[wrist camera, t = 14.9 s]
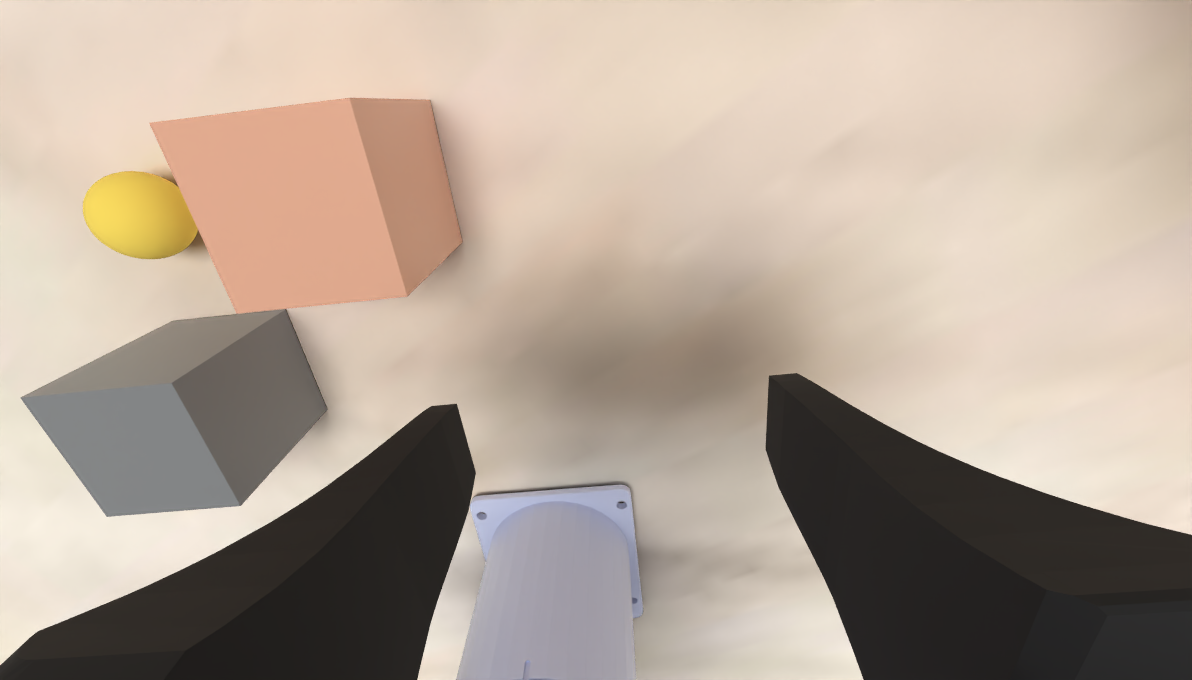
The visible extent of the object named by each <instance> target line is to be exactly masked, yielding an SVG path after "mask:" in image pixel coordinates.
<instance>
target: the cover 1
mask: <svg viewBox="0 0 1192 680" xmlns="http://www.w3.org/2000/svg"><path fill="white" fill-rule="evenodd" d="M150 126H151V128H152V130H153V132H154V134H155V137H156V139H157V141H158V143H159V145H160V147H161V150H162V152H163V154H164V156H165V158H166V161H167V163H168V165H169V167H170V169H171V171H172V174H173V176H174V178H175V180H176V182H177V185H178V187H179V189H180V191H181V193H182V195H183V198H184V200H185V202H186V204H187V206H188V208H189V211H190V213H191V215H192V217H193V219H194V222H195V224H196V226H197V228H198V230H199V232H200V235H201V237H202V239H203V241H204V243H205V246H206V248H207V250H208V252H209V254H210V256H211V259H212V261H213V263H214V265H215V267H216V269H217V272H218V274H219V276H220V278H221V280H222V283H223V285H224V287H225V289H226V291H227V293H228V296H229V298H230V300H231V302H232V304H233V307H234V309H235V311H236V313H237V314H238V313H248V312H258V311H268V310H278V309H287V308H297V307H307V306H317V305H327V304H337V303H347V302H357V301H367V300H377V299H387V298H397V297H407V296H408V295H409V294H410V293H411V292H412V291H413V290H414V289H415V288H416V287H417V286H418V285H419V284H420V283H421V282H422V281H423V280H425V279H426V278H427V277H428V276H429V275H430V274H431V273H432V272H433V271H434V270H435V269H436V268H437V267H438V266H439V265H440V264H441V263H442V262H443V261H444V260H445V259H446V258H447V257H448V256H449V255H450V254H451V253H452V252H453V251H454V250H455V249H456V248H457V247H458V246H459V245H460V244H461V243H462V238H461V233H460V229H459V225H458V220H457V216H456V212H455V207H454V203H453V199H452V194H451V190H450V185H449V181H448V177H447V172H446V168H445V164H444V159H443V155H442V151H441V146H440V142H439V137H438V133H437V129H436V124H435V120H434V116H433V111H432V107H431V102H430V100H413V99H372V98H345V99H337V100H329V101H321V102H313V103H305V104H297V105H289V106H281V107H273V108H265V109H257V110H249V111H241V112H233V113H225V114H217V115H209V116H201V117H193V118H185V119H177V120H169V121H161V122H153V123H150Z"/></svg>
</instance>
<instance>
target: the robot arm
mask: <svg viewBox="0 0 1192 680" xmlns="http://www.w3.org/2000/svg"><path fill="white" fill-rule="evenodd" d="M766 452H767V455H768V458H769V461H770V464H771V467H772V470H773V473H774V475H775V478H776V481H777V484H778V487H779V489H780V491H781V493H782V495H783V497H784V499H785V501H786V503H787V505H788V507H789V509H790V511H791V513H792V515H793V517H794V519H795V521H796V523H797V525H798V527H799V529H800V531H801V533H802V535H803V537H804V539H805V541H806V543H807V545H808V547H809V549H810V551H811V553H812V555H813V557H814V559H815V561H816V563H817V565H818V567H819V569H820V571H821V573H822V575H823V577H824V579H825V581H826V584H827V586H828V588H829V590H830V592H831V595H832V597H833V599H834V602H835V604H836V607H837V610H838V612H839V615H840V617H841V620H842V623H843V625H844V628H845V630H846V633H847V636H848V638H849V641H850V643H851V646H852V649H853V652H854V654H855V657H856V660H857V663H858V665H859V668H860V671H861V674H862V676H863V679H864V680H1192V535H1189V534H1185V533H1181V532H1177V531H1173V530H1169V529H1165V528H1161V527H1157V526H1153V525H1149V524H1145V523H1141V522H1138V521H1134V520H1131V519H1127V518H1124V517H1121V516H1117V515H1114V514H1110V513H1107V512H1104V511H1100V510H1097V509H1093V508H1090V507H1087V506H1083V505H1080V504H1077V503H1074V502H1071V501H1068V500H1064V499H1061V498H1058V497H1055V496H1052V495H1049V494H1046V493H1043V492H1040V491H1037V490H1035V489H1032V488H1029V487H1026V486H1024V485H1021V484H1018V483H1015V482H1012V481H1010V480H1007V479H1004V478H1001V477H999V476H996V475H994V474H991V473H988V472H986V471H983V470H981V469H978V468H976V467H974V466H971V465H969V464H967V463H964V462H962V461H960V460H957V459H955V458H953V457H950V456H948V455H946V454H944V453H941V452H939V451H937V450H935V449H932V448H930V447H928V446H926V445H924V444H922V443H920V442H918V441H916V440H914V439H912V438H910V437H908V436H906V435H904V434H902V433H900V432H898V431H896V430H895V429H893V428H891V427H889V426H887V425H885V424H883V423H881V422H880V421H878V420H876V419H874V418H872V417H871V416H869V415H867V414H865V413H864V412H862V411H860V410H859V409H857V408H855V407H853V406H852V405H850V404H848V403H847V402H845V401H843V400H842V399H840V398H838V397H837V396H835V395H833V394H832V393H830V392H828V391H827V390H825V389H823V388H822V387H820V386H818V385H817V384H815V383H813V382H812V381H810V380H808V379H807V378H805V377H803V376H801V375H799V374H797V373H794V374H783V375H772V376H769V387H768V409H767V431H766ZM475 474H476V472H475V468H474V465H473V461H472V457H471V454H470V450H469V447H468V443H467V439H466V436H465V432H464V429H463V425H462V421H461V418H460V414H459V410H458V407H457V404H450V405H439V406H431V407H429V408H428V409H426V410H425V411H424V412H422V413H421V414H419V415H418V416H417V417H416V418H414V419H413V420H412V421H410V422H409V423H408V424H407V425H405V426H404V427H403V428H402V429H400V430H399V431H398V432H397V433H396V434H394V435H393V436H392V437H391V438H389V439H388V440H387V441H386V442H384V443H383V444H382V445H381V446H379V447H378V448H377V449H376V450H374V451H373V452H372V453H371V454H369V455H368V456H367V457H365V458H364V459H363V460H361V461H360V462H359V463H357V464H356V465H355V466H353V467H352V468H351V469H349V470H348V471H347V472H345V473H344V474H343V475H341V476H340V477H338V478H337V479H336V480H334V481H333V482H332V483H330V484H329V485H328V486H326V487H325V488H323V489H322V490H320V491H319V492H318V493H316V494H315V495H313V496H312V497H310V498H309V499H307V500H306V501H304V502H303V503H301V504H299V505H298V506H296V507H295V508H293V509H291V510H290V511H288V512H287V513H285V514H283V515H282V516H280V517H279V518H277V519H275V520H274V521H272V522H270V523H269V524H267V525H265V526H263V527H262V528H260V529H258V530H256V531H254V532H252V533H251V534H249V535H247V536H245V537H243V538H242V539H240V540H238V541H236V542H234V543H233V544H231V545H229V546H227V547H225V548H224V549H222V550H220V551H218V552H216V553H214V554H212V555H210V556H208V557H206V558H204V559H202V560H200V561H198V562H196V563H194V564H192V565H190V566H188V567H186V568H184V569H182V570H180V571H178V572H176V573H174V574H172V575H169V576H167V577H165V578H163V579H161V580H159V581H157V582H154V583H152V584H150V585H148V586H146V587H144V588H141V589H139V590H137V591H135V592H132V593H130V594H128V595H126V596H123V597H121V598H118V599H116V600H114V601H111V602H109V603H106V604H104V605H101V606H99V607H97V608H94V609H92V610H89V611H87V612H85V613H82V614H80V615H77V616H75V617H72V618H70V619H68V620H65V621H63V622H60V623H58V624H55V625H53V626H50V627H48V628H45V629H43V630H40V631H38V632H37V633H35V634H34V635H33V636H31V637H30V638H29V639H28V640H27V641H26V642H25V643H24V644H23V645H22V646H21V647H20V648H18V649H17V650H16V651H15V652H14V653H13V654H12V655H11V656H10V657H9V658H8V659H7V660H6V661H5V662H3V663H2V664H1V665H0V680H417V678H418V673H419V669H420V665H421V661H422V657H423V652H424V648H425V644H426V640H427V636H428V632H429V627H430V623H431V620H432V617H433V613H434V610H435V607H436V604H437V600H438V598H439V595H440V592H441V589H442V586H443V583H444V580H445V578H446V575H447V572H448V569H449V566H450V563H451V560H452V558H453V555H454V552H455V549H456V546H457V543H458V540H459V537H460V534H461V531H462V528H463V526H464V523H465V520H466V516H467V513H468V510H469V505H470V510H471V514H472V517H473V520H474V524H475V527H476V531H477V534H478V537H479V541H480V544H481V547H482V551H483V554H484V558H485V561H486V564H485V568H484V572H483V576H482V580H481V584H480V588H479V592H478V596H477V599H476V603H475V607H474V611H473V615H472V619H471V623H470V627H469V631H468V635H467V639H466V643H465V647H464V651H463V655H462V659H461V663H460V666H459V670H458V674H457V678H456V680H636V664H635V647H634V630H633V618H637V617H640V616H641V615H642V614H643V603H642V594H641V584H640V575H639V566H638V556H637V547H636V537H635V528H634V519H633V509H632V500H631V491H630V489H629V488H628V487H627V486H625V485H608V486H595V487H583V488H570V489H557V490H545V491H532V492H519V493H506V494H494V495H481V496H476V497H474V498H473V499H472V501H471V504H470V500H471V496H472V490H473V485H474V479H475ZM620 501H624V502H625V503H618V502H620ZM480 512H484V513H486V514H482V513H480Z"/></svg>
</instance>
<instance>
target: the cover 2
mask: <svg viewBox="0 0 1192 680" xmlns="http://www.w3.org/2000/svg"><path fill="white" fill-rule="evenodd" d="M21 399H22V401H23V402H24V403H25V405H26V406H27V408H28V409H29V410H30V412H31V413H32V414H33V416H34V417H35V419H36V420H37V421H38V423H39V424H40V425H41V427H42V428H43V430H44V431H45V432H46V434H47V435H48V436H49V438H50V439H51V441H52V442H53V443H54V445H55V446H56V447H57V449H58V450H59V452H60V453H61V454H62V456H63V457H64V458H65V460H66V461H67V463H68V464H69V465H70V467H71V468H72V469H73V471H74V472H75V474H76V475H77V476H78V478H79V479H80V480H81V482H82V483H83V485H84V486H85V487H86V489H87V490H88V491H89V493H90V494H91V495H92V497H93V498H94V500H95V501H96V502H97V504H98V505H99V506H100V508H101V509H102V511H103V512H104V513H105V515H106V516H107V517H109V516H121V515H134V514H146V513H159V512H171V511H183V510H196V509H208V508H220V507H233V506H241V505H242V504H243V503H244V502H245V500H246V499H247V498H248V497H249V496H250V495H251V494H252V493H253V492H254V490H255V489H256V488H257V487H258V486H259V485H260V484H261V483H262V482H263V480H264V479H265V478H266V477H267V476H268V475H269V474H270V473H271V472H272V470H273V469H274V468H275V467H276V466H277V465H278V464H279V463H280V462H281V460H282V459H283V458H284V457H285V456H286V455H287V454H288V453H289V452H290V450H291V449H292V448H293V447H294V446H295V445H296V444H297V443H298V442H299V440H300V439H301V438H302V437H303V436H304V435H305V434H306V433H307V432H308V430H309V429H310V428H311V427H312V426H313V425H314V424H315V423H316V422H317V420H318V419H319V418H320V417H321V416H322V415H323V414H324V413H325V412H326V410H327V408H326V405H325V403H324V401H323V398H322V396H321V393H320V391H319V389H318V386H317V384H316V381H315V379H314V377H313V374H312V372H311V369H310V367H309V365H308V362H307V360H306V357H305V355H304V353H303V350H302V348H301V345H300V343H299V341H298V338H297V336H296V333H295V331H294V329H293V326H292V324H291V321H290V319H289V317H288V314H287V312H286V309H283V310H273V311H264V312H254V313H245V314H235V315H226V316H216V317H207V318H197V319H188V320H178V321H171V322H169V323H167V324H165V325H163V326H162V327H160V328H158V329H156V330H154V331H152V332H150V333H148V334H146V335H144V336H142V337H140V338H138V339H136V340H134V341H132V342H130V343H128V344H126V345H124V346H122V347H120V348H118V349H116V350H114V351H112V352H110V353H108V354H106V355H104V356H102V357H100V358H98V359H96V360H94V361H92V362H90V363H88V364H86V365H84V366H82V367H80V368H78V369H76V370H74V371H72V372H70V373H68V374H66V375H64V376H62V377H60V378H58V379H56V380H54V381H53V382H51V383H49V384H47V385H45V386H43V387H41V388H39V389H37V390H35V391H33V392H31V393H29V394H27V395H25V396H23V397H21Z"/></svg>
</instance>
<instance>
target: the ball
mask: <svg viewBox="0 0 1192 680" xmlns="http://www.w3.org/2000/svg"><path fill="white" fill-rule="evenodd" d="M83 215H84V219H85V221H86V224H87V226H88V227H89V229H90V230H91V232H92V233H93V234H94V235H95V237H96V238H97V239H98V240H100V241H101V242H102V243H103V244H105V245H106V246H108V247H109V248H111V249H113V250H114V251H116V252H119V253H121V254H124V255H127V256H130V257H135V258H140V259H161V258H166V257H170V256H173V255H175V254H177V253H179V252H181V251H183V250H184V249H185V248H187V247H188V246H189V245H190V244H191V243H192V241H193V240H194V238H195V237H196V234H197V232H198V228H197V226H196V224H195V222H194V219H193V217H192V215H191V213H190V211H189V208H188V206H187V204H186V202H185V200H184V198H183V195H182V193H181V191H180V189H179V187H178V186H176V185H175V184H173V183H172V182H170V181H168V180H166V179H164V178H162V177H159V176H157V175H154V174H149V173H145V172H136V171H127V172H118V173H114V174H110V175H108V176H105V177H103V178H101V179H100V180H98V181H97V182H95V183H94V184H93V185H92V186H91V187H90V189H89V190H88V191H87V193H86V196H85V198H84V201H83Z"/></svg>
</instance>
